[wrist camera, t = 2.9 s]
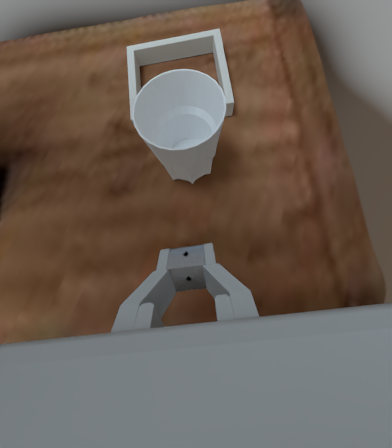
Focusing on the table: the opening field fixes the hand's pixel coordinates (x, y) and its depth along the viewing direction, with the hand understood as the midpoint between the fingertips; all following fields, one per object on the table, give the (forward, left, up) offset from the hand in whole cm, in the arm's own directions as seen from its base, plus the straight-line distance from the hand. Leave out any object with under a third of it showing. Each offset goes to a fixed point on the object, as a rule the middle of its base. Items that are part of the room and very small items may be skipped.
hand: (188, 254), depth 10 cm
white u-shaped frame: (-15, +25, -15) cm, 33 cm away
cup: (-8, +13, -15) cm, 22 cm away
